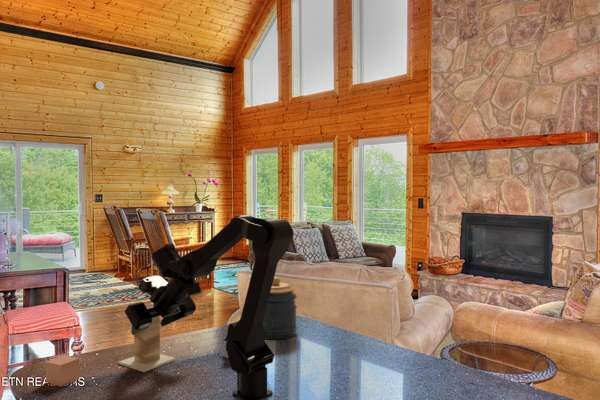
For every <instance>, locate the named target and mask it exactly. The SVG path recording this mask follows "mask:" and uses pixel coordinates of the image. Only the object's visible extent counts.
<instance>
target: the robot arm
mask: <svg viewBox="0 0 600 400" xmlns="http://www.w3.org/2000/svg"><path fill="white" fill-rule="evenodd" d="M293 238H294V228H292V225H291V224H290V222H289V221H288V220H286V219H285V218H284V219H283V218H278V219H267V218H263V217H255V216H253V215H249V214H247V215H246V214H245V215H235V216H234V217H232V218H231V220H230V221H229V223H227V224H226V225H225V226H224V227H223V228H222V229H221V230H219V231H218V232H217V233H216V234H214V236H213V237H212V238H211V239H209V240H208V241H207V242H206V243H205V244H204V245H202V246H201V247H199V248H196V249H194V250H191V251H189V252H187V253H186V254H184V255H182V256H181V255H180V254H179V252H178V250H177V248H176V247H175V245H174V243H166V244H164V246H162V247H160V248H159V249H157V250H155V251H154V252H153V253H152V254H151V256H150V258H151V260H152V262H153V264H154V265H155V267H156V268H157V271H158V272H159V273H160V275H151V276H146V277H144V278H142V279H141V281H139V284H138V287H137V288H138V290H139V291H140V292H141V293H143V294H148V295H149V296H150V297H149V301H150V304H153V307H154V308H150V309H147V308H146V306H145V304H146V303H145V302H143V301H139V302H135V303H130V304H128V305H127V306H126V307H125V309H124V313H125V315H126V317H127V319H128V321H129V322H130V324H131V330H130V333H131V335H132V336H134V335H135V334H137V333H139V332H141V331H143V330H145V329H147V328H149V327H148V326H149V325H150V324H151V323H152V318H156V317H159V316H160V317H161V318H162V319H161V320H160V327H165V326H168V325H170V324H172V323H174V322H176V321H177V322H178V321H179V320H182V319H184V318H187V317H189V316H190V315H191V316H192V315H193V314H194V313H195V312H196V311H197V305H196V304H195V302H194V300H193V298H192V297H191V296H192V295H197V294H200V293H202V289H201V286H200V282H199V281H198V282H197V280H196V279H199V278H202V277H204V278H205V277H208V276H209V275H210V274H211V273H212V272H213V271H214V269H215V268H216V267H217V262H218V261H219V259H220V258H221V257H222V256H223V255H225V254H227V252H229V251H230V250H231V249H232V248H233V247H235V246H236V245H237V244H238V243H239V242H240V241H241V240H243V239H245V240H249V241H251V248H252V250H253V255H254V261H253V262H254V263H253V268H252V271H251V274H250V279H249V284H248V287H247V291H246V293H245V294H246V295H245V300H244V304H243V307H242V312H241V315H240V319H238V320H237V321H233V322H231V323H229V324H228V326H229V327H228V333H226V335H227V336H226V335H225V338H224V342H225V346H226V351H227V354H228V357H229V359H228V361H229V364H230V368H231V371H234V372H235V373H236V374H237V377H236V378H237V379H236V380H237V381H236V382H237V383H236V384H237V387H236V390H233V391H232V393H231V394H232V395H233V396H235V397H237V398H240V399H241V400H262V399H265V398H266V397H268V396H271V395H273V393H274V392H273V391H272V390H270V389H268V367H267V365H269V364H272V363H273V361H274V359H275V353H274V352H273V351H272V349H271V347H270V346H269V344H268V343H267V341H266V339H265V336H266V331H265V328H264V325H263V319H264V315H265V311H266V307H267V303H268V299H269V295H270V291H271V287H272V283H273V280H274V277H276V276H275V275H276V271H277V268H278V263H279V262H280V260H281V259H282V258H283V256H284V255H285V254H286V253H287V251H288V249H289V248H290V245H291V243H292V240H293ZM164 278H169V281H167V280H165V279H164ZM226 341H227V342H226Z"/></svg>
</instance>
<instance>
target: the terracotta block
mask: <svg viewBox="0 0 600 400" xmlns="http://www.w3.org/2000/svg"><path fill="white" fill-rule="evenodd" d="M77 380H80V358H79V357H74V356H69V355H61V356H58V357H55V358H53V359H50V360H47V361H45V383H46V382H48V383H51V384H50V385H52V384H54V385H53V386H57V385H58V386H57V387H63V385H64V386H66V385H68V384H70V382H71V383H73V382H75V381H77ZM72 381H73V382H72ZM48 383H47V384H48ZM67 383H68V384H67ZM65 384H66V385H65Z"/></svg>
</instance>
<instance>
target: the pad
mask: <svg viewBox="0 0 600 400" xmlns="http://www.w3.org/2000/svg"><path fill="white" fill-rule="evenodd" d="M175 361H176V358H175V357H173V356H170V355H166V354H162V353H160V359H159V360H156V361H153V362H151V363H148V364H143V363H140V362H137V361H134V356H132V357H128V358H125V359H123V360H119V361H118V365H121V366H123V367H127V368H130V369H134V370H136V371H139V372H143V373H145V372H148V371H150V370H153V369H154V370H155V368H158V367H162V366H164V365H166V364H169V363H172V362H175Z"/></svg>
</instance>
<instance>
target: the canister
mask: <svg viewBox="0 0 600 400" xmlns="http://www.w3.org/2000/svg"><path fill="white" fill-rule="evenodd" d="M294 290H295V287H293V286H292V285H290V284H289V283H287V282H283V281H282V282H281V281H280V278H279V277H276V276H274V280H273V283H272V287H271V291H270V295H269V299H268V303H267V307H266V311H265V315H264V319H263V325H264V328H265V331H266V336H265V340H271V341H272V340H275V341H276V340H286V339H291V338H293V337H294V336H296V334H297V329H298V327H297V305H296V299H297V294H296V293H294V292H293V291H294Z"/></svg>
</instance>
